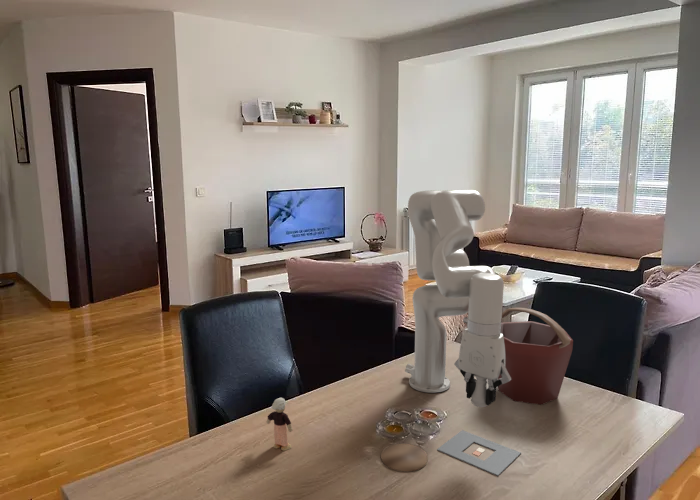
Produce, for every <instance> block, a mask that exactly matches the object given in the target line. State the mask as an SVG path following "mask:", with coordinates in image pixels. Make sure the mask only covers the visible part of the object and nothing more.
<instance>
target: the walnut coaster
mask: <svg viewBox="0 0 700 500" xmlns="http://www.w3.org/2000/svg"><path fill="white" fill-rule="evenodd" d="M380 459H381V462H382V463H383V464H384V465H385V466H386V467H388V468H389V469H391V470H394V471H398V472H404V473H405V472H408V473H409V472H415V471H420V470H421V469H423V468H424V467H425V466H426V465H427V464H428V461H429V460H428V459H429V458H428V453H427V451H425V450H424V449H423V448H421V447H420V446H417V445H415V444H410V443H395V444H391V445H388V446H386V447H385V448H383V450H382V451H381V453H380Z"/></svg>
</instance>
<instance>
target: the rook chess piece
mask: <svg viewBox="0 0 700 500" xmlns="http://www.w3.org/2000/svg"><path fill="white" fill-rule="evenodd" d="M474 378H475V379H476V380H475V382H476V387H475V391H474V392H473V394H472V396H471V398H470V401H471V404H472V405H473V406H476V407H479V408H484V407H485V408H486V407H487V406H488V405H486V390H487V389H488V388H487V385H488V380H487V378H484V377H480V376H477V375H475V376H474Z"/></svg>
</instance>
